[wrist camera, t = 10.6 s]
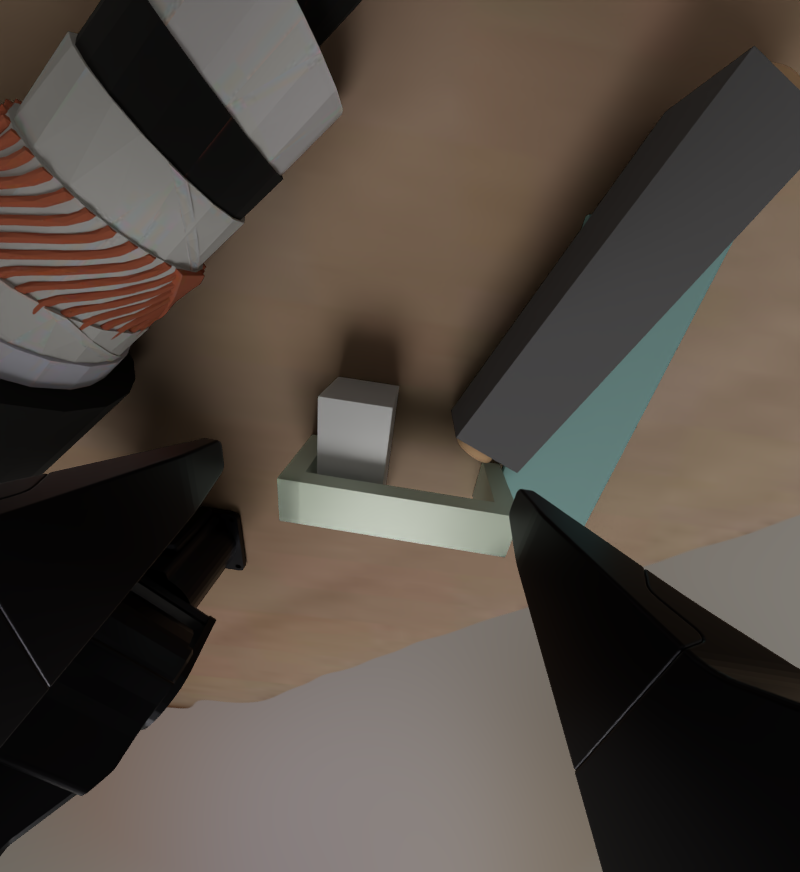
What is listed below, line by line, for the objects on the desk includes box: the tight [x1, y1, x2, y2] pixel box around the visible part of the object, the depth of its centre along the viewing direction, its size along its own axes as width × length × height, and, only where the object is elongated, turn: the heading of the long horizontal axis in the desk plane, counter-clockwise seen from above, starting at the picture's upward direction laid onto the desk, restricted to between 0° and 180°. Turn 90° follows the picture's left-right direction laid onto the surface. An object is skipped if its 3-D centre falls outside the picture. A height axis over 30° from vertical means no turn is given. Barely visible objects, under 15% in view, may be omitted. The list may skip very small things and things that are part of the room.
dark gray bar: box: [451, 46, 800, 473], centre depth 15 cm, size 18×4×4 cm, turn 150°
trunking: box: [317, 377, 399, 485], centre depth 20 cm, size 9×4×4 cm, turn 173°
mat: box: [502, 214, 732, 526], centre depth 19 cm, size 19×7×1 cm, turn 173°
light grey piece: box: [277, 435, 514, 557], centre depth 20 cm, size 3×13×6 cm, turn 83°
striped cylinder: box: [0, 0, 361, 483], centre depth 14 cm, size 10×34×10 cm, turn 123°
